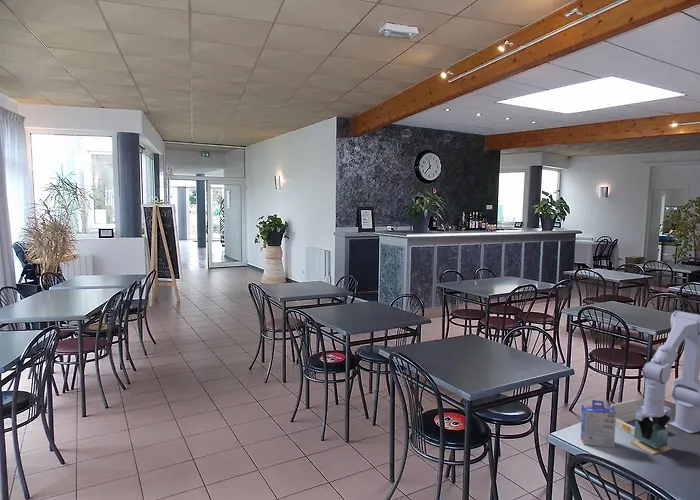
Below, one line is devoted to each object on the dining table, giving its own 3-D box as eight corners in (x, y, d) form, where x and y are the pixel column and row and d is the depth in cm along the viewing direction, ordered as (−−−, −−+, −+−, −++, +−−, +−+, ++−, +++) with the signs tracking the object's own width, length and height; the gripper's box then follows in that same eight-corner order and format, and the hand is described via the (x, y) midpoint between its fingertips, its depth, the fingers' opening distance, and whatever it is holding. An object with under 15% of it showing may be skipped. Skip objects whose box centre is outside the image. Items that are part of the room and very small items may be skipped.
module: (644, 434, 164) (645, 418, 163) (666, 445, 157) (668, 428, 156) (634, 437, 162) (635, 420, 162) (656, 448, 155) (657, 431, 154)
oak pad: (648, 438, 165) (648, 437, 165) (671, 449, 157) (671, 448, 157) (630, 442, 161) (630, 441, 161) (652, 454, 154) (652, 453, 154)
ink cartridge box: (609, 440, 163) (612, 400, 162) (615, 448, 158) (617, 407, 156) (579, 437, 165) (581, 397, 164) (583, 445, 160) (586, 404, 158)
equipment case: (636, 417, 180) (636, 411, 180) (666, 432, 169) (667, 425, 168) (610, 423, 175) (611, 417, 175) (640, 439, 164) (641, 432, 164)
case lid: (633, 416, 181) (635, 399, 180) (638, 418, 179) (639, 401, 178) (609, 422, 176) (610, 404, 175) (613, 424, 174) (614, 406, 174)
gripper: (657, 390, 164) (654, 427, 165) (628, 396, 158) (625, 434, 160) (678, 398, 157) (675, 436, 159) (647, 405, 152) (644, 444, 153)
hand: (651, 436), depth 159 cm, fingers closed on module, 5 cm apart
